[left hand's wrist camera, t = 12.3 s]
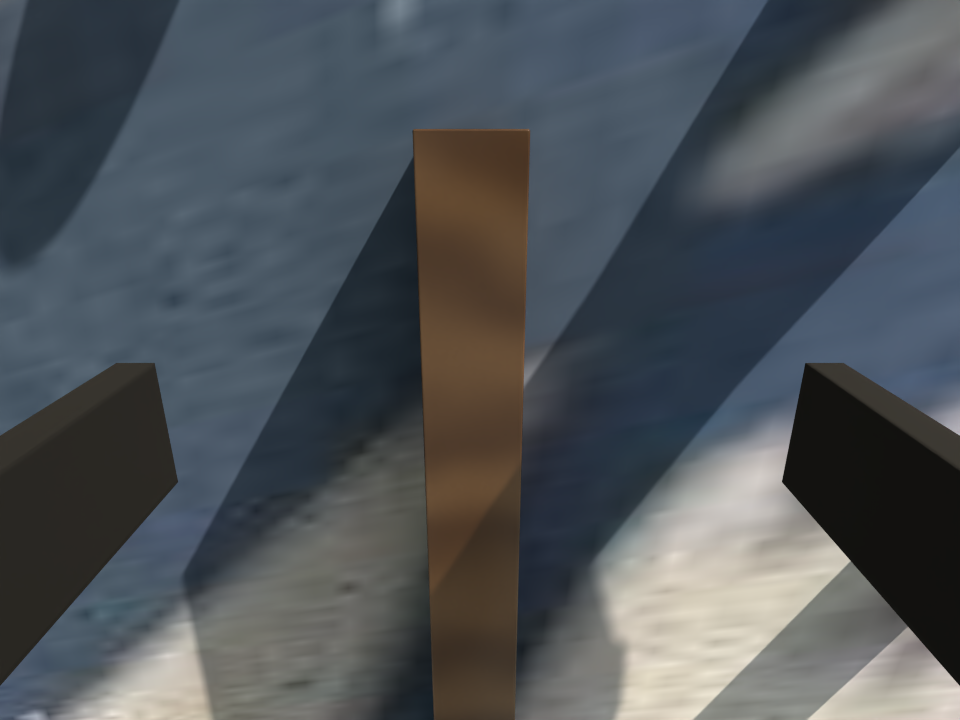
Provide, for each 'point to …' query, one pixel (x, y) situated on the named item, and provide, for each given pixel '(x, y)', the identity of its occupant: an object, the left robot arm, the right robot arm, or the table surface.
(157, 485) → the left robot arm
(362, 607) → the table surface
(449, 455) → the post
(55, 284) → the table surface
